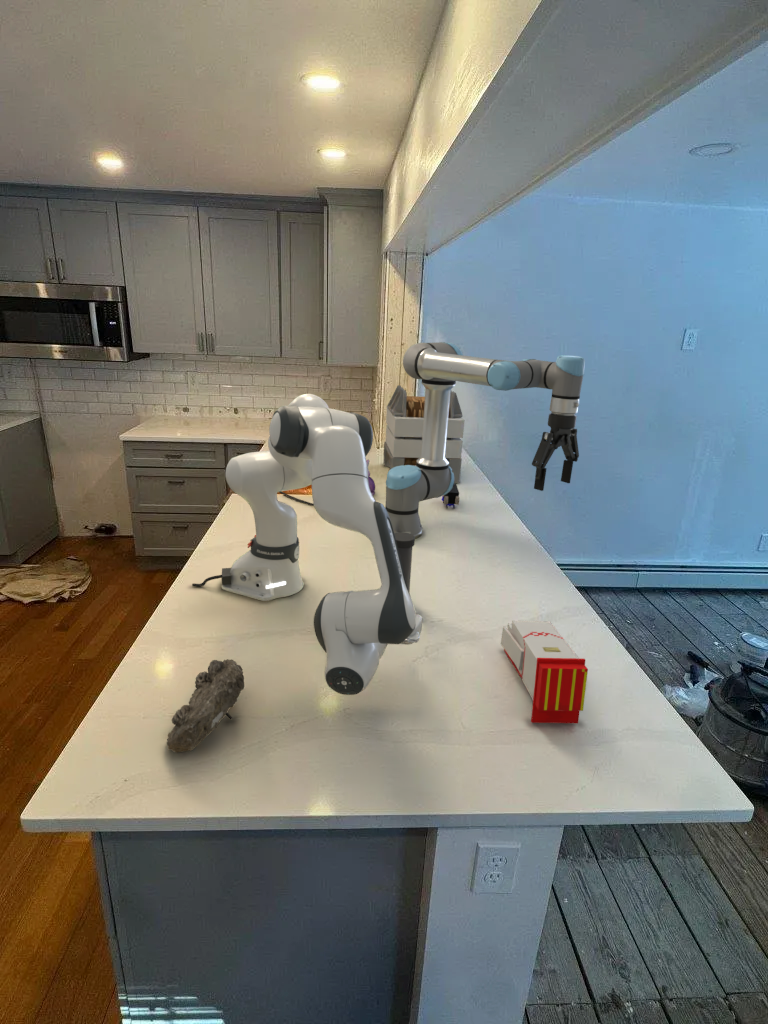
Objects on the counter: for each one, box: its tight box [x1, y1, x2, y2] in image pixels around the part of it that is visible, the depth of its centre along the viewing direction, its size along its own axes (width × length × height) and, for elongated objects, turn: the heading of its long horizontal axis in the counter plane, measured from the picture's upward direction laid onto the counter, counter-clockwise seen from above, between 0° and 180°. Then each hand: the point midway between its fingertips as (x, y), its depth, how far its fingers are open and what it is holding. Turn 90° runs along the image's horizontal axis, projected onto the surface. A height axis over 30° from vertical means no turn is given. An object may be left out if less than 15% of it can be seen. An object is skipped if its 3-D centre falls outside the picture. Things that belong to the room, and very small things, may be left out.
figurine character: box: [441, 483, 460, 509], centre depth 231 cm, size 7×8×15 cm
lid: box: [394, 532, 416, 549], centre depth 146 cm, size 6×6×2 cm
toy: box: [500, 620, 589, 724], centre depth 121 cm, size 12×13×30 cm
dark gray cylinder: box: [398, 547, 413, 593], centre depth 149 cm, size 5×5×19 cm
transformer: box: [383, 384, 465, 484], centre depth 268 cm, size 34×33×41 cm
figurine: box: [366, 459, 376, 497], centre depth 237 cm, size 9×10×15 cm
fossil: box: [166, 658, 245, 754], centre depth 106 cm, size 22×10×15 cm
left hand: (382, 604), depth 128 cm, fingers open, 8 cm apart
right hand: (552, 485), depth 166 cm, fingers open, 13 cm apart
